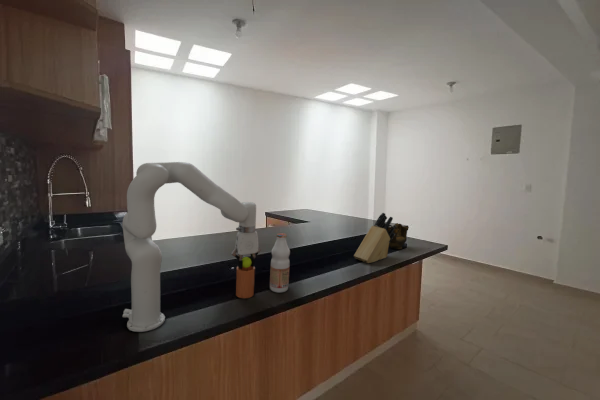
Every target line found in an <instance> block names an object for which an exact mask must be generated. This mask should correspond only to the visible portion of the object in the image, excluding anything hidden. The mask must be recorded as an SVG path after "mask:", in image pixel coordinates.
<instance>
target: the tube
mask: <svg viewBox="0 0 600 400" xmlns="http://www.w3.org/2000/svg"><path fill="white" fill-rule="evenodd" d="M235 270H236V274H235V296H236V297H237V298H239V299H249V298H252V297H253V296H254V295H255V281H256V280H255V278H256V267H255V266H254V267H252V266H250V267H248V268H244V267H243V268H242V269H240V268H239V267H238V266H236V269H235Z"/></svg>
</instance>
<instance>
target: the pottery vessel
mask: <svg viewBox="0 0 600 400" xmlns="http://www.w3.org/2000/svg"><path fill="white" fill-rule="evenodd" d="M394 225H395V226H396V227H395V229H394V231H393V233H395V236H394V237H393V239H392V240H391V242H390V243H389V247H390V248H391V249H394V250H402V249H403V245H405V244H406V242H407V240H408V239H407V238H408V237H407V236H408V230H409V226H404V225H402V223H399V222H397V223H395V224H394ZM394 225H392V227H393V226H394ZM390 229H391V226H389V228H388V230H387V231H390Z"/></svg>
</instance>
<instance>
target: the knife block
mask: <svg viewBox="0 0 600 400" xmlns="http://www.w3.org/2000/svg"><path fill="white" fill-rule="evenodd" d="M392 221H393V217H392V216H389V218H388V217H387V215H386V213H385V212H381V214H380V215H379V216H378V217H377V219H376V221H375V223H374V225H371V226H370V228H369V229H368V231H367V233H366V234H365V236H364V237H363V240H362V241H361V243H360V245H359V246H358V248H357V249H356V251H355V253H354V254H353V257H354V259H355V260H357V261H361V262H363V263H367V264H372V263H374V262H377V261H381V260H382V259H386V258H388V254H389V247H390V246H389V243H390V242H391V240H392V239H393V237H394V236H395V233H393V231H394V229H395V227H396V226H395V224H394V225H391V223H392ZM392 226H393V227H392ZM389 227H391V229H390V231H387V230H388V228H389Z"/></svg>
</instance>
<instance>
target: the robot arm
mask: <svg viewBox="0 0 600 400" xmlns="http://www.w3.org/2000/svg"><path fill="white" fill-rule="evenodd" d="M135 173H136V175H135V176H134V177H133V179H132V181H131V182H130V183H129V185H128V188H127V191H126V208H127V212H126V213H125V215H124V216H123V218H122V232H123V243H124V249H125V253H126V255H127V257H128V258H129V260H130V261H131V270H130V271H131V273H130V288H131V289H130V291H131V292H130V293H131V309H129V308H124V310H123V314H122V318H125V319H126V318H128V320H127V323H126V327H127V329H128V330H129V331H132V332H134V333H135V332H136V333H142V332H143V333H144V332H148V331H153V330H155V329H158V328H159V327H160V326H162V325H163V324H164V323H165V320H166V316H165V314H164V313H162V312H161V267H162V259H163V255H162V250H161V248H160V246H159V245H158V244H157V243H155V242H154V241H153V237H152V236H154V234H155V233H156V231H157V219H156V209H155V197H156V193H157V191H159V190H160V189H161V187H163V186H164V185H165V184H166V185H167V184H176V183H178V184H181V185H182V186H183V187H184V188H186V189H187V190H189V192H191V193H192V194H193V195H195V196H196V197H197V198H198V199H200V200H201V201H203V202H205V203H206V204H208V205H209V206H212V207H214V208H216V209H218V210H220V215H221V216H223V217H224V219H227V220H230V221H233V222H235V223H238V227H236V228H235V230H236V231H237V233H236V237H235V243H234V249H233V250H232V251H231V253H230V255H232V256H233V257H234V258H235V259H237V267H239V268H240V269H242V268H243V261H242V258H244V257H243V256H245V255H250V256H249V258H250V259H251V261H252V263H251V266H252V267H255V259H256V257H257V256H258V254H259V253H261V251H262V249H261V247H260V246H259V235H258V231H256V227H257V226H256V225H257V204H256V202H252V201H243V202H241V201H239V200H238V199H237V198H236V197H235V196H233V195H232V194H230V193H229V192H228V191H226V190H225V189H224V188H222V187H221V186H220V185H218V184H217V183H215V182H214V181H213V180H212V179H211V178H210V177H208V176H207V175H206V174H205V173H203V172H202V171H201V170H200V169H198V167H196V166H195V165H194V164H192V163H190V162H187V161H185V162H184V161H171V162H169V161H168V162H145V163H141V165H139V166H138V167H137V169H136V172H135Z"/></svg>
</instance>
